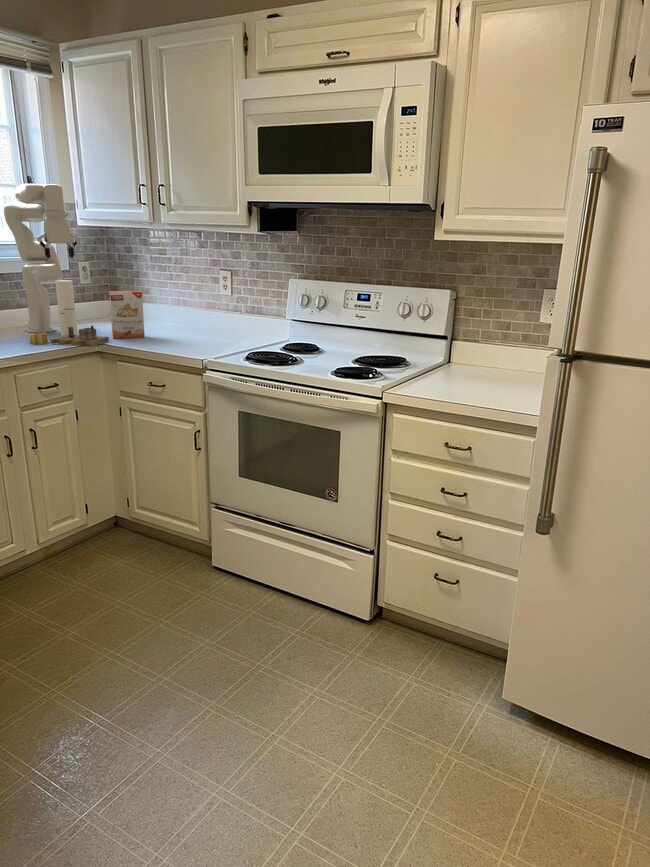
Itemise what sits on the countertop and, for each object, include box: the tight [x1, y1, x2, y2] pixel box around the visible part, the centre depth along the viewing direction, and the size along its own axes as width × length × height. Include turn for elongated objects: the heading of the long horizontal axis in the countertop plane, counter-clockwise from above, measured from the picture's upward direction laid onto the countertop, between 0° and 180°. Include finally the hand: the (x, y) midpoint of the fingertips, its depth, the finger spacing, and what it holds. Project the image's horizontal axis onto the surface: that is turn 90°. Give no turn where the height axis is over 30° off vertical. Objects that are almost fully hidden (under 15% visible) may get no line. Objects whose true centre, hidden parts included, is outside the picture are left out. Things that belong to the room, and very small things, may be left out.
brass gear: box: [28, 332, 49, 345], centre depth 278 cm, size 7×7×4 cm
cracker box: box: [108, 290, 146, 340], centre depth 294 cm, size 14×6×21 cm, turn 112°
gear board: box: [50, 325, 110, 347], centre depth 280 cm, size 20×13×8 cm, turn 79°
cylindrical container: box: [54, 279, 79, 337], centre depth 293 cm, size 7×7×25 cm
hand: (60, 257), depth 276 cm, fingers open, 9 cm apart
